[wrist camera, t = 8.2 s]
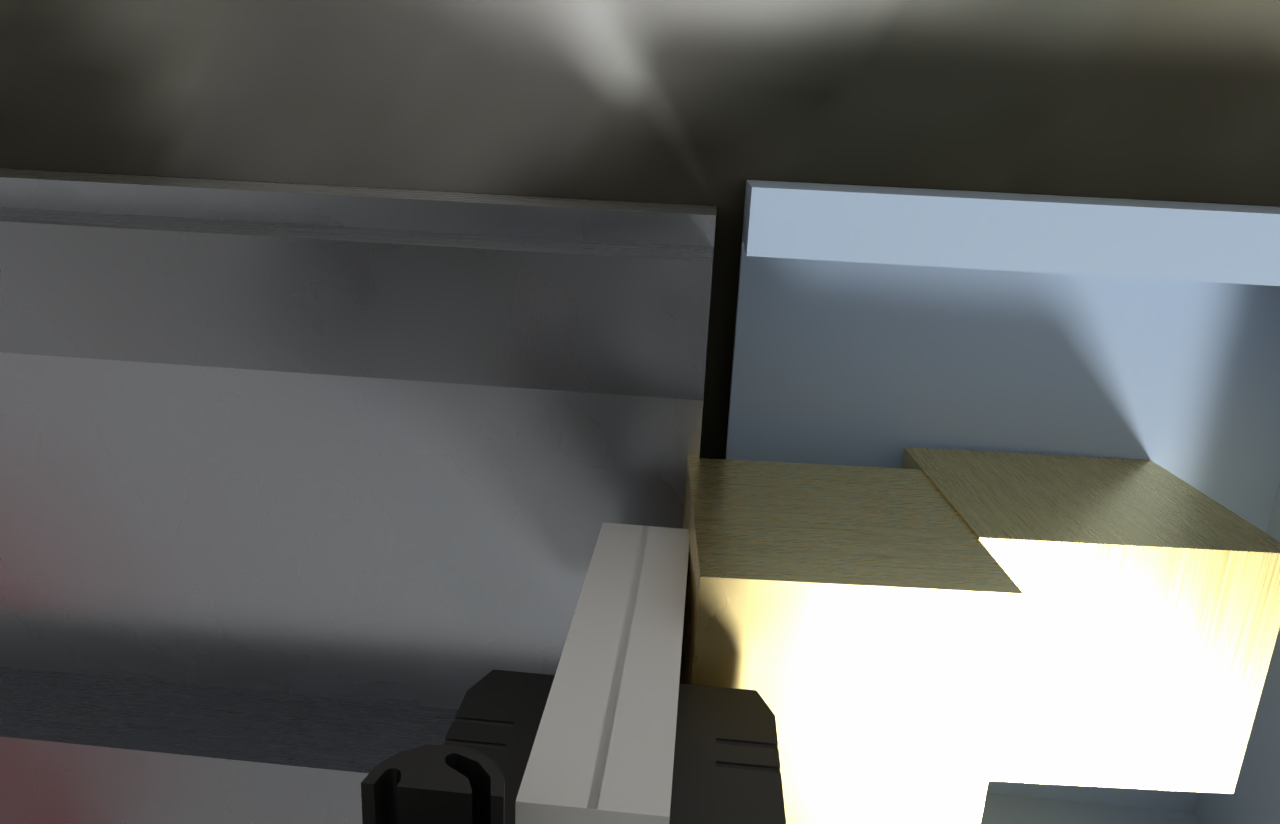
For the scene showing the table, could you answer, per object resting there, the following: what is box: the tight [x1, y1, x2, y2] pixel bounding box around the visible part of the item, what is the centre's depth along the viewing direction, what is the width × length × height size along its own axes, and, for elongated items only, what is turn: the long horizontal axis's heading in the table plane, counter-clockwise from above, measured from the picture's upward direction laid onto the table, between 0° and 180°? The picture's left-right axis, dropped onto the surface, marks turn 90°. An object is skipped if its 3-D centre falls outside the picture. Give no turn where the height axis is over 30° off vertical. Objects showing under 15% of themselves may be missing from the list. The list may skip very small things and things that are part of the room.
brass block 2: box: [901, 447, 1280, 794], centre depth 15 cm, size 4×4×4 cm
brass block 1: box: [680, 457, 1023, 824], centre depth 14 cm, size 4×4×4 cm
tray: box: [725, 180, 1280, 824], centre depth 16 cm, size 13×11×4 cm
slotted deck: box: [0, 168, 717, 824], centre depth 17 cm, size 12×16×4 cm
